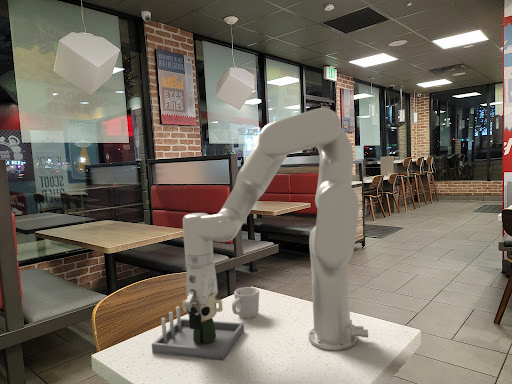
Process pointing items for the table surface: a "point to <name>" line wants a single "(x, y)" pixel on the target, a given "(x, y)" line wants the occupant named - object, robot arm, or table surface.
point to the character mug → (206, 320)
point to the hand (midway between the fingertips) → (203, 320)
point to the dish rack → (182, 343)
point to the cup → (246, 302)
